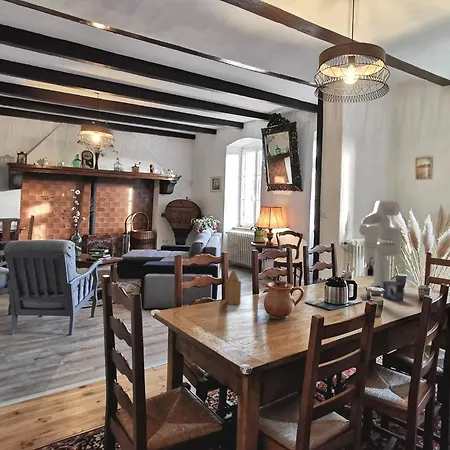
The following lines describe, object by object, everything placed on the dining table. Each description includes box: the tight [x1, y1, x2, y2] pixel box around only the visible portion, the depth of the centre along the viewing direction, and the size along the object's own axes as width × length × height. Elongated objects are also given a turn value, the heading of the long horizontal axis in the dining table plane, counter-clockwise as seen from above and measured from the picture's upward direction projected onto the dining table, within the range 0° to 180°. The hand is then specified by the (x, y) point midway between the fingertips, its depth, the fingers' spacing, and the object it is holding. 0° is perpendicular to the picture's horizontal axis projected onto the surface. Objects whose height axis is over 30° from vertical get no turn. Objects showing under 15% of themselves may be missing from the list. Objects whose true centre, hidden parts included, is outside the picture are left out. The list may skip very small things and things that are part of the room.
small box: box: [382, 280, 405, 303], centre depth 236 cm, size 11×6×10 cm, turn 25°
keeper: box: [360, 288, 371, 301], centre depth 234 cm, size 8×8×6 cm
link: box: [363, 266, 376, 278], centre depth 233 cm, size 6×6×5 cm
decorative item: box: [224, 268, 242, 306], centre depth 216 cm, size 7×7×20 cm
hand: (369, 274), depth 233 cm, fingers closed on link, 6 cm apart
